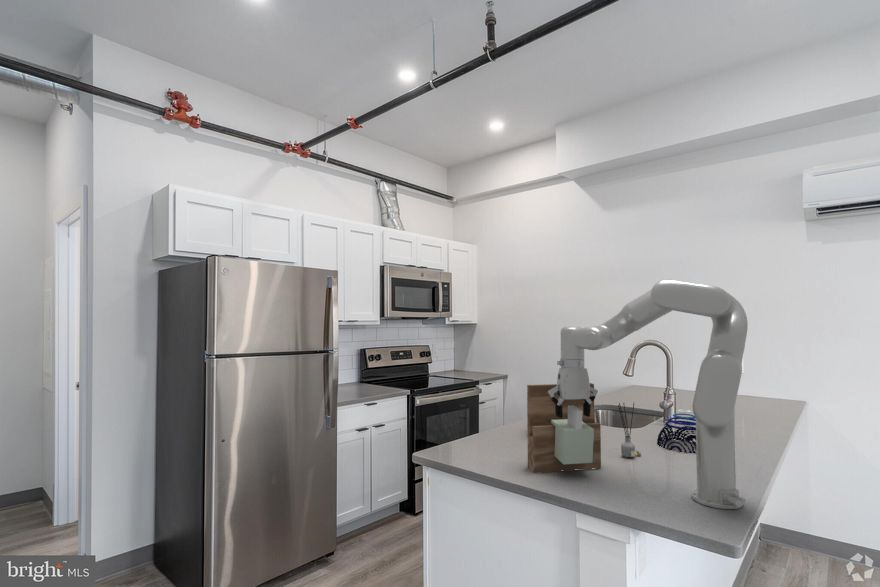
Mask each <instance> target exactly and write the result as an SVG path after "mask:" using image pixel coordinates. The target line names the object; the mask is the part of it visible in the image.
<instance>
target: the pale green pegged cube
mask: <svg viewBox="0 0 880 587" xmlns="http://www.w3.org/2000/svg"><path fill="white" fill-rule="evenodd" d="M551 423H552V424H553V425H554V426H555V451H554V456H555V457H556V458H557V459H558V460H559V461H561V462H562V463H563V464H578V463H592V462H593V440H594V429H593V428H591V427H590V426H588V425H587V424H585V423H584V422H582V410H580V409H579V408H577V407H576V406H574V405H571V406H568V419H560V420H551Z"/></svg>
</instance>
